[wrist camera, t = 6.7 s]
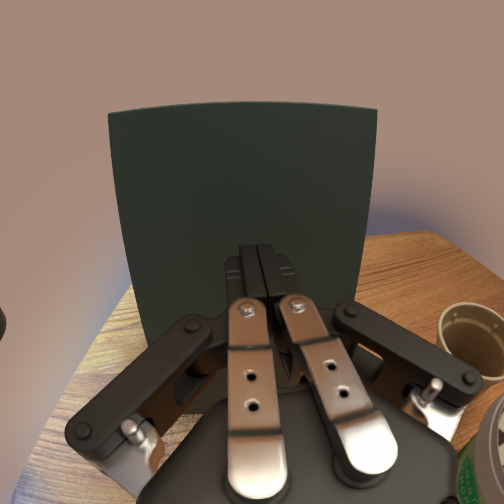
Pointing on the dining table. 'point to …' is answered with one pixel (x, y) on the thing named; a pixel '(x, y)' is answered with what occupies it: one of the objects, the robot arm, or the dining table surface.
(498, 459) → the food container
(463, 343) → the flower pot
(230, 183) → the lid
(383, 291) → the dining table surface
